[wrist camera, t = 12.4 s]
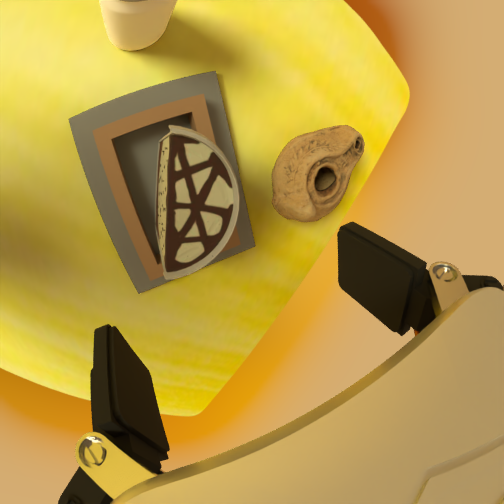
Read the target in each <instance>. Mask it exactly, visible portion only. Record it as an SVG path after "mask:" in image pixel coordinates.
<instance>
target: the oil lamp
mask: <svg viewBox="0 0 504 504" xmlns="http://www.w3.org/2000/svg"><path fill="white" fill-rule="evenodd" d="M363 152H364V140H363V137H362V135H361V134H360V133H359V132H357V131H356V130H355V129H354V128H352V127H350V126H348V125H339V126H333V127H329V128H324V129H321V130H317V131H314V132H310V133H306V134H303V135H300V136H297V137H295V138H294V139H292V140H291V141H290V142H289V143H288V144H287V145H286V146H285V147H284V149H283V150H282V152H281V153H280V155H279V156H278V158H277V160H276V163H275V166H274V168H273V171H272V186H273V198H272V204H273V206H274V208H275V209H276V210H277V212H278V213H279V214H280V215H282V216H284V217H285V218H287V219H295V220H297V221H301V222H311V221H317V220H319V219H321V218H322V217H324V216H325V215H327V214H328V213H330V212H331V211H332V210H333V209H334V208H335V207H336V206H337V205H338V204H339V202H340V201H341V199H342V197H343V195H344V194H345V192H346V189H347V186H348V183H349V179H350V175H351V172H352V170H353V168H354V167H355V165H356V163H357V162H358V160H359V159H360V157H361V156H362V154H363Z"/></svg>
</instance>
